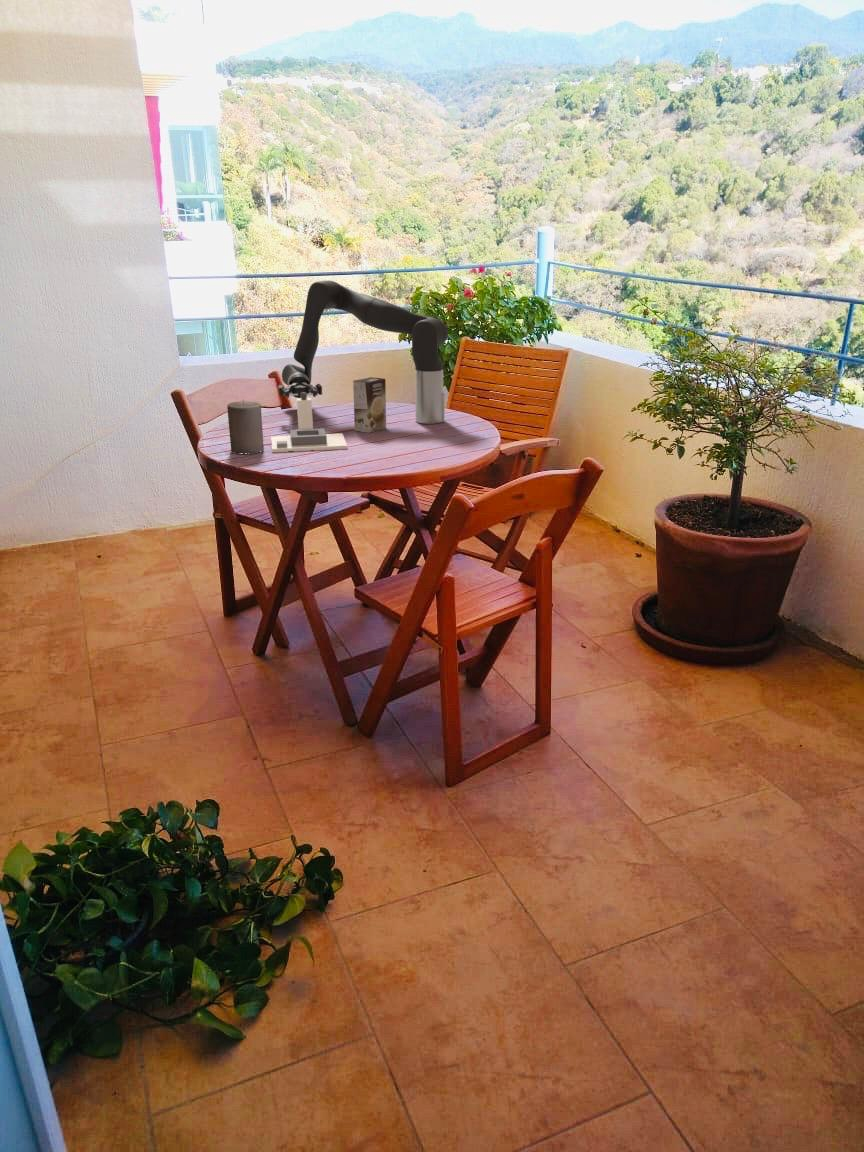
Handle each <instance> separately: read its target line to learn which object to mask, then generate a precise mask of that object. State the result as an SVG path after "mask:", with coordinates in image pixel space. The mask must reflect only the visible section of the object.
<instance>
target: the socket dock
mask: <svg viewBox="0 0 864 1152" xmlns="http://www.w3.org/2000/svg"><path fill="white" fill-rule="evenodd" d="M289 433H290V434H289V435H277V436H274V435H273V436H270V438H271V440H270V441H271V442H270V443H271V452H274V453H289V452H288V451H294V452H310V451H311V450H314V451H331V450H333V451H334V450H348V443H347V441H346V438H345V437H344V434H343V433H342V432H341V433H326V431H325V428H324V427H323V428H322V427H321V428H313V429H300V430H299V429H289Z"/></svg>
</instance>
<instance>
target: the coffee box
mask: <svg viewBox="0 0 864 1152" xmlns="http://www.w3.org/2000/svg"><path fill="white" fill-rule="evenodd" d="M386 381H387V380H386V378H382V377H373V376H372V377H371V376H370V377H365V378H359V379H355V380H354V379H353V381H352V383H353V384H352V385H353V386H352V387H353V414H354V415H353V416H354V417H353V418H354V421H353V422H354V424H353V425H354V431H356V432H362V433H367V434H369V433H373V432H378V431H381V430H384V429H387V398H386V397H387V396H386V395H387V393H386V392H387V390H386V389H387V388H386V386H387V384H386Z"/></svg>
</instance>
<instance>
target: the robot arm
mask: <svg viewBox="0 0 864 1152" xmlns="http://www.w3.org/2000/svg"><path fill="white" fill-rule="evenodd" d="M307 291H308V292H307V296H306V301H305V307H304V308H305V309H304V314H303V321H302V327H301V331H300V334H299V337H298V340H297V344H296V347H295V350H294V353H293V359H294V360H295V361H296V362H298V363H299V364H300V365H302V366H303V367H304V368H303V367H300V366H298V365H295V364H289V363H288V364H285V366H284V367H283V369H282V372H281V379H282V382H283V383H284V384H285V385H286V386H285V385H283V384H279V385H278V396H280V397H282V396H283V395H284V396H285V397H286V398H288V399H289V398H290V397H294V398H296V399H297V398H301V393H302V392H306V394H307V396H310V397H311V396H312V397H313V398H316V397H317V396H318V395H319V396H321V395H323V386H322V385H321V384H320V383H316V384H315V386H313V384H311V383H312V372H313V371H312V368H313V361H314V358H315V355H316V353H317V350H318V347H319V341H320V340H319V339H320V334H319V333H320V331H319V324H320V320H321V318H322V316H323V313H324V311H325V310H328V309H329V310H331V309H333V310H339V311H343V312H347V313H350V314H351V315H353V316H354V317H355V318H356V319H357V320H359V321H360V322H362V323H363V324H365V325H367V326H370V327H372V328H374V329H377V330H380V331H385V332H388V333H389V332H390V333H391V332H392V333H398V334H405V335H408V336H411V348H412V349H411V351H412V352H411V353H412V361H413V363H414V367H415V368H414V369H415V373H414V375H415V377H414V378H415V379H414V381H415V383H414V384H415V421H416V423H420V424H425V425H429V424H431V425H432V424H440V423H445V400H446V399H445V398H446V397H445V393H444V362H443V360H442V359H441V358H440V357H439V353H438V347H440V346H442V345H443V344H444V343H445V342H446V341H447V339H448V337H449V330H448V327H447V325H446V324H445V323H444V322H443V321H442V320H441V319H439V318H436V317H431V316H427V315H423V314H418V313H415V312H413V311H409V310H407V309H405V308H403V307H400V306H398V305H396V304H393V303H390V302H389V301H385V300H382V299H380V298H377V297H374V296H371V295H367V294H364V293H359V292H356V291H354V290H352V289H350V288H348V287H346V286H344V285H343V284H340V283H338V282H336V281H335V280H334V281H333V280H318V281H314V282H313V283H312V284H310V287H308V290H307Z"/></svg>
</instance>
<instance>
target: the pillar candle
mask: <svg viewBox="0 0 864 1152" xmlns="http://www.w3.org/2000/svg"><path fill="white" fill-rule="evenodd" d="M226 406H227V407H226V409H227V417H228V418H227V419H228V430H229V440H230V452H231V451H232V452H235V453H243V454H242V455H249V454H248V453H256V454H258V453H257V452H260V451H262V452H264V451H263V450H265V449H264V448H265V447H264V432H263V429H264V428H263V417H262V404H261V403H260V402H257V401H249V400H248V401H247V400H244V399H242V401H232V402H230V403H227V405H226ZM232 452H231V453H232ZM235 453H234V454H235ZM245 453H247V454H245ZM260 453H261V452H260Z"/></svg>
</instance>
